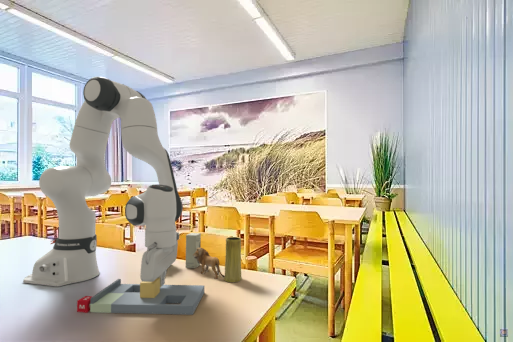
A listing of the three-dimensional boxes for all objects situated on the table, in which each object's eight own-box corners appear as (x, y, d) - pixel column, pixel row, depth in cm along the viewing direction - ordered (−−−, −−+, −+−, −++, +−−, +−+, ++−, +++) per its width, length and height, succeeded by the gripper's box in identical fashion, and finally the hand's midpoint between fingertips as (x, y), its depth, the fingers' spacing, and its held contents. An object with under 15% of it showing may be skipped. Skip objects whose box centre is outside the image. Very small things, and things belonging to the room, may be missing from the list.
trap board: (90, 312, 74) (90, 297, 74) (118, 290, 88) (118, 278, 88) (192, 314, 73) (192, 300, 73) (204, 292, 87) (204, 280, 87)
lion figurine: (190, 272, 106) (190, 248, 106) (200, 268, 110) (201, 245, 110) (220, 280, 97) (220, 254, 97) (229, 276, 102) (230, 251, 102)
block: (139, 297, 78) (140, 282, 78) (146, 291, 82) (146, 277, 82) (154, 298, 78) (154, 283, 78) (159, 292, 82) (160, 278, 82)
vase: (245, 279, 99) (245, 238, 99) (232, 284, 94) (233, 241, 94) (233, 275, 103) (233, 235, 103) (220, 279, 98) (220, 238, 99)
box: (195, 268, 110) (195, 235, 110) (185, 267, 111) (185, 234, 111) (200, 264, 115) (201, 232, 115) (190, 263, 116) (191, 232, 116)
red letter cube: (87, 313, 74) (87, 301, 74) (76, 312, 74) (77, 300, 74) (95, 307, 77) (95, 296, 77) (85, 306, 77) (85, 295, 77)
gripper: (158, 247, 74) (157, 301, 73) (180, 232, 94) (180, 274, 94) (134, 247, 74) (133, 301, 74) (162, 232, 94) (161, 274, 94)
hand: (160, 286), depth 84 cm, fingers closed
